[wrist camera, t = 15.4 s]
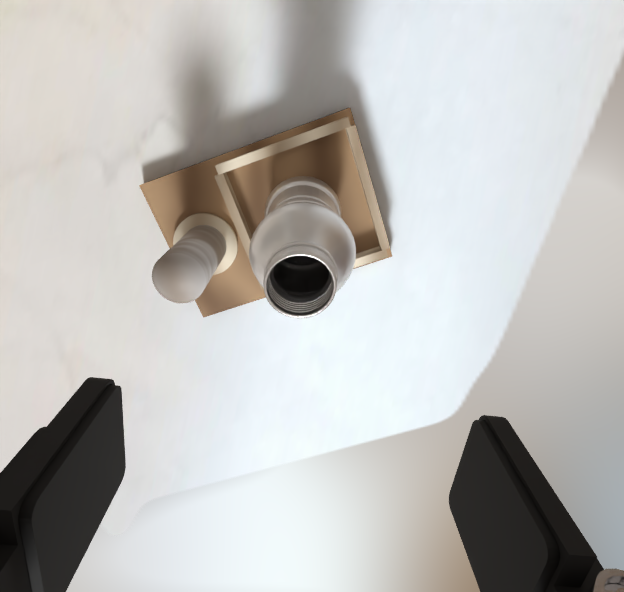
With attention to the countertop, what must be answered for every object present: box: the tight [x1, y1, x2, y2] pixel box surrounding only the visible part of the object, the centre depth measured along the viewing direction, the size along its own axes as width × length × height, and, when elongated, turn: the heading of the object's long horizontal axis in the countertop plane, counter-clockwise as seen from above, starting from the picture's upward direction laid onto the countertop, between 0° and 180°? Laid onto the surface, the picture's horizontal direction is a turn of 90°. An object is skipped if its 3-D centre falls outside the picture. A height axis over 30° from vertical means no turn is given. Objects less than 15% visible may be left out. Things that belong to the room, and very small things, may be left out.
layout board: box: [139, 108, 392, 317], centre depth 37 cm, size 20×14×11 cm
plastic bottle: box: [249, 176, 356, 318], centre depth 31 cm, size 6×7×20 cm
